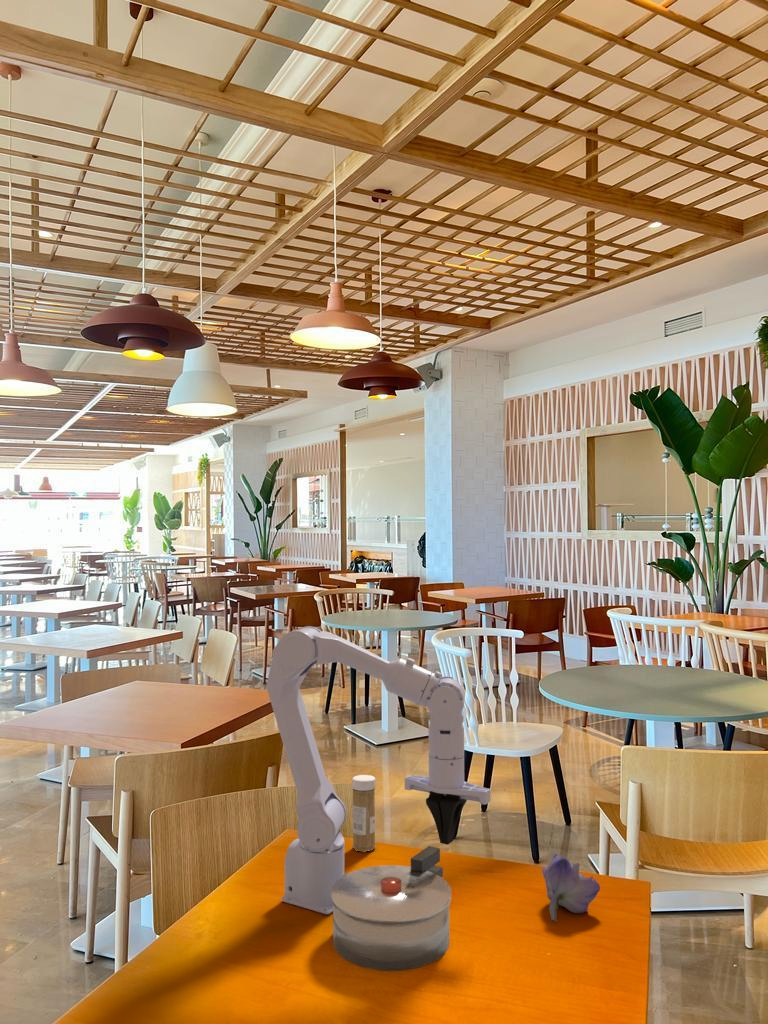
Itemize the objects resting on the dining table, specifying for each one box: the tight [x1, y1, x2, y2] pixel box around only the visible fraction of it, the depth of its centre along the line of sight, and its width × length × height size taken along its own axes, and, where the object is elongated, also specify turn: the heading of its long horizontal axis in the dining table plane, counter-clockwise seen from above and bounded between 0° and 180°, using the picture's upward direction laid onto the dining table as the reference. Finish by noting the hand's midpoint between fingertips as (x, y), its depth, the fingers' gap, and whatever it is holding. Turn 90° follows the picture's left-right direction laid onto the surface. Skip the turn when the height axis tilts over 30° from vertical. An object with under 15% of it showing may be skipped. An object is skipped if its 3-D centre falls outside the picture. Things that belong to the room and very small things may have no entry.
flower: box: [541, 850, 601, 924], centre depth 117 cm, size 9×9×10 cm
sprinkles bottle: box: [351, 774, 377, 852], centre depth 144 cm, size 5×5×14 cm
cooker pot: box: [332, 864, 450, 972], centre depth 112 cm, size 23×17×6 cm
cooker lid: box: [331, 845, 452, 924], centre depth 112 cm, size 22×18×3 cm
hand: (446, 841), depth 119 cm, fingers closed
